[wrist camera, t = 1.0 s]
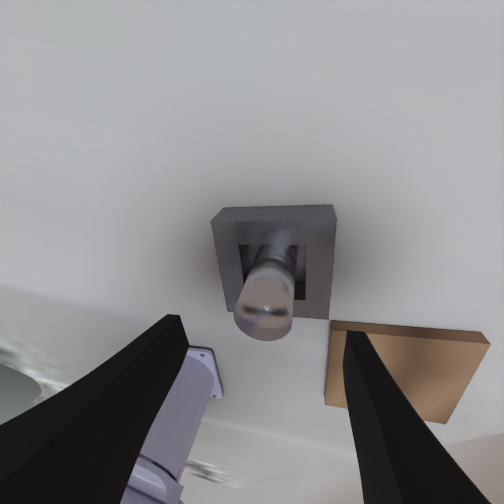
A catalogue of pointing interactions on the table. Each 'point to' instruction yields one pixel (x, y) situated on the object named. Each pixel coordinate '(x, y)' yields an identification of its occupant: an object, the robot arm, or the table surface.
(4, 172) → the table surface
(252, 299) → the silver metal cylinder
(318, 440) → the table surface
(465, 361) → the pad
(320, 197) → the table surface
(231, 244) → the chuck block
